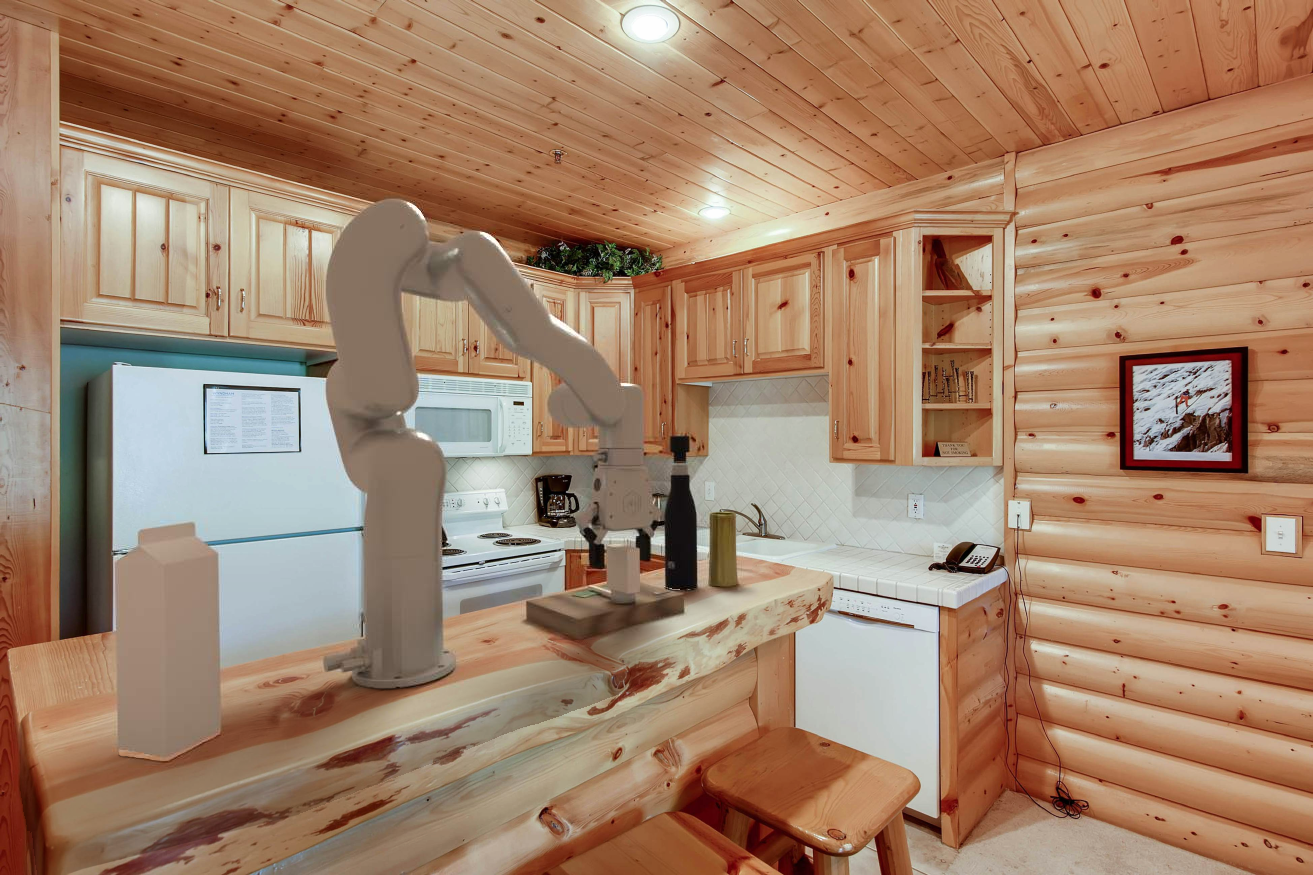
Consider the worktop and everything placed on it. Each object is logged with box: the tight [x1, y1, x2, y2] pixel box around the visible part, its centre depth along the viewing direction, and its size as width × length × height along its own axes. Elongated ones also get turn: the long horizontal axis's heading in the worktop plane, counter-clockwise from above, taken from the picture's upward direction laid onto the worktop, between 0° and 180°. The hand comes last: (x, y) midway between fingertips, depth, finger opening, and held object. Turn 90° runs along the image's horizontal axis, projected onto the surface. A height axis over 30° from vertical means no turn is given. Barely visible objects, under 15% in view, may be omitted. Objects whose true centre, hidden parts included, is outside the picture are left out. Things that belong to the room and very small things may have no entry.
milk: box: [114, 521, 222, 758], centre depth 65 cm, size 6×6×22 cm
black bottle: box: [663, 435, 698, 591], centre depth 130 cm, size 6×6×30 cm
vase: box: [707, 511, 739, 588], centre depth 132 cm, size 6×6×14 cm
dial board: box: [525, 582, 685, 640], centre depth 111 cm, size 22×15×3 cm
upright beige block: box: [587, 543, 641, 604], centre depth 110 cm, size 13×4×9 cm, turn 38°
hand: (620, 564), depth 107 cm, fingers open, 9 cm apart
